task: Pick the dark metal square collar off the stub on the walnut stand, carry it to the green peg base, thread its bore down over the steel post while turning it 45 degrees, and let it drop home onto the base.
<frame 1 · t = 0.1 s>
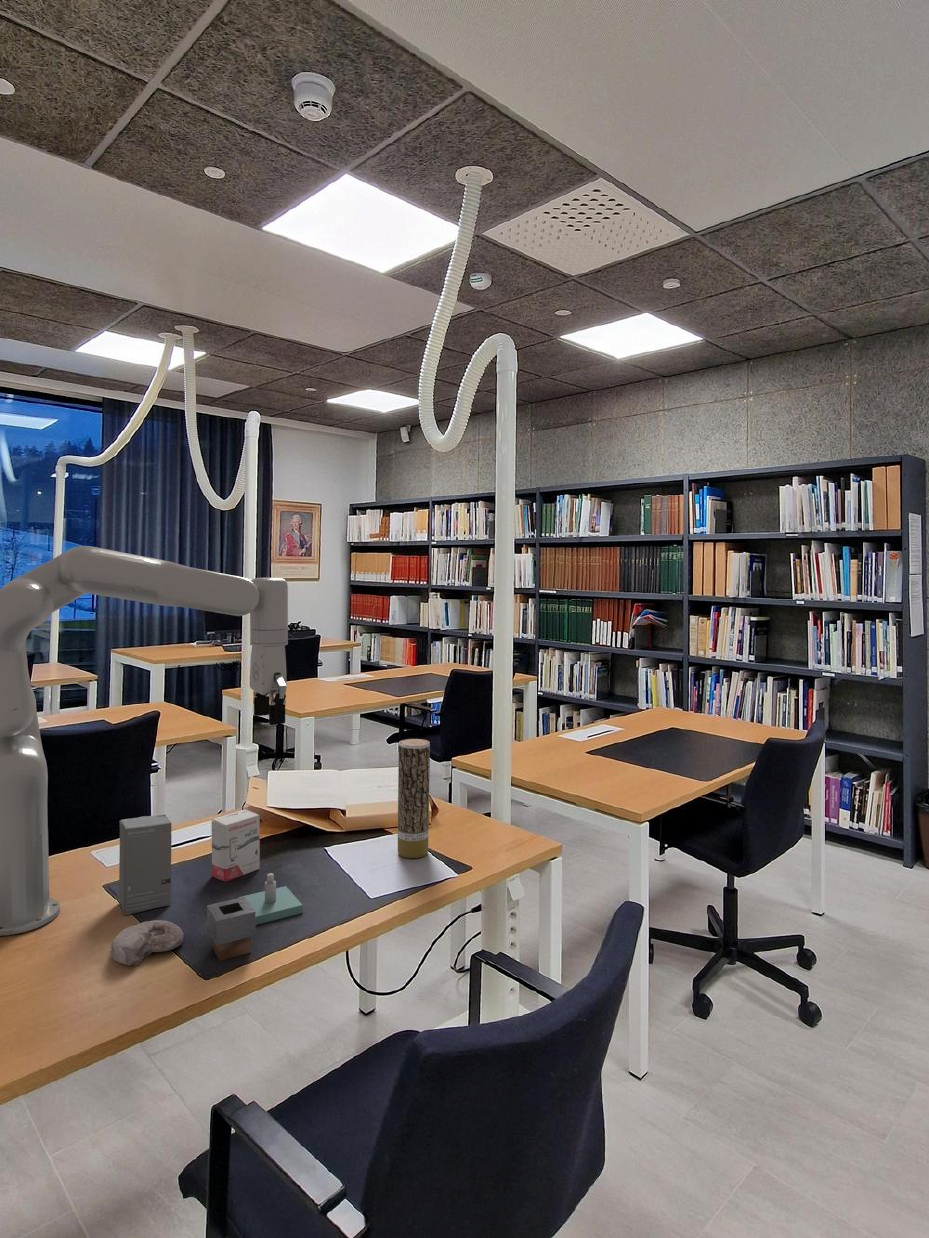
hand: (269, 719, 150), 31 cm above the table, tool pointing down, fingers open, 9 cm apart
green peg base: (270, 908, 133), on the table
fossil: (144, 952, 118), on the table
stand: (231, 949, 119), on the table
ink box: (235, 873, 148), on the table
skincare box: (145, 904, 134), on the table
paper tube: (412, 854, 159), on the table
collar: (231, 931, 118), point 3 cm above the table, touching stand
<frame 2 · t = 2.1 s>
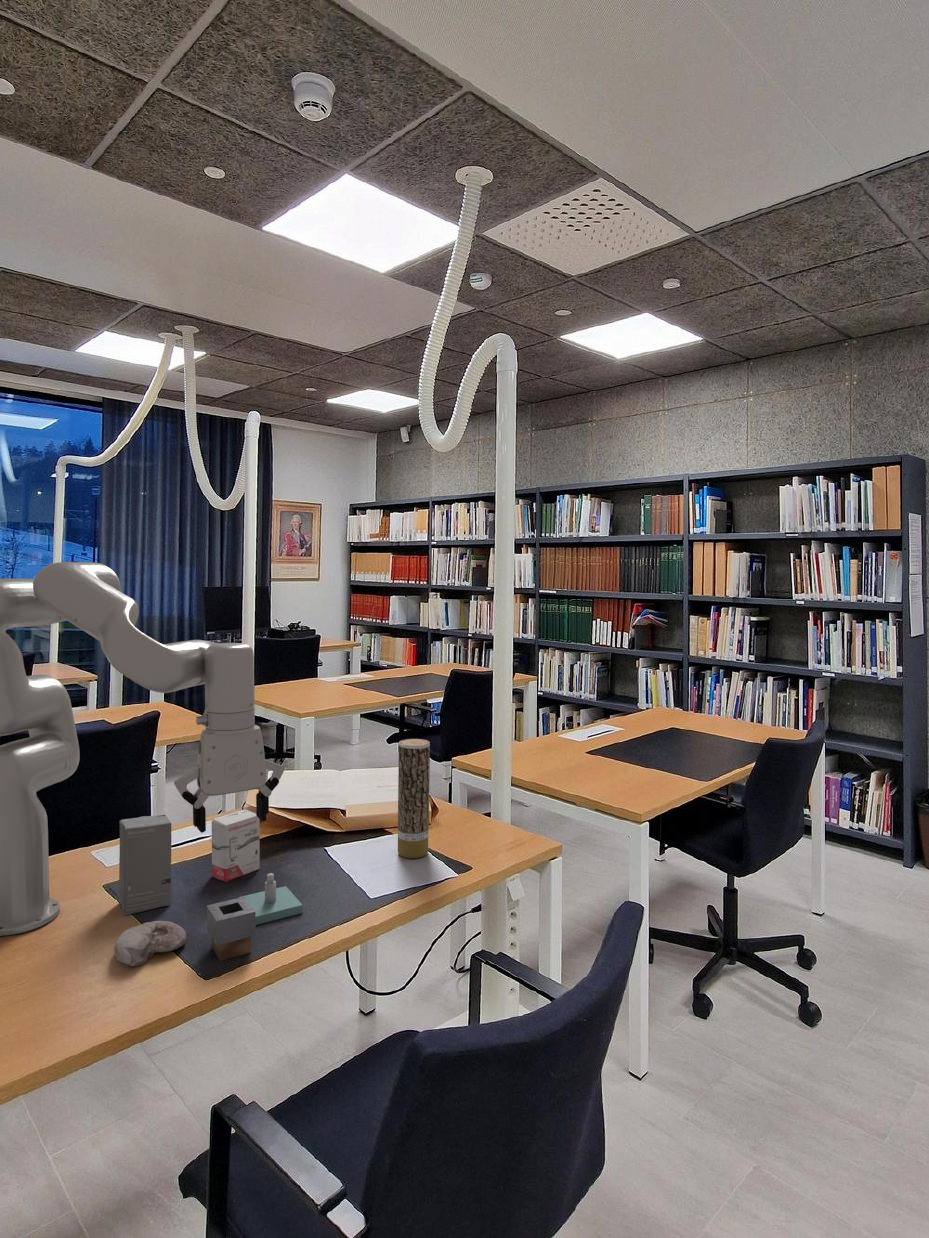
hand: (231, 824, 117), 21 cm above the table, tool pointing down, fingers open, 9 cm apart
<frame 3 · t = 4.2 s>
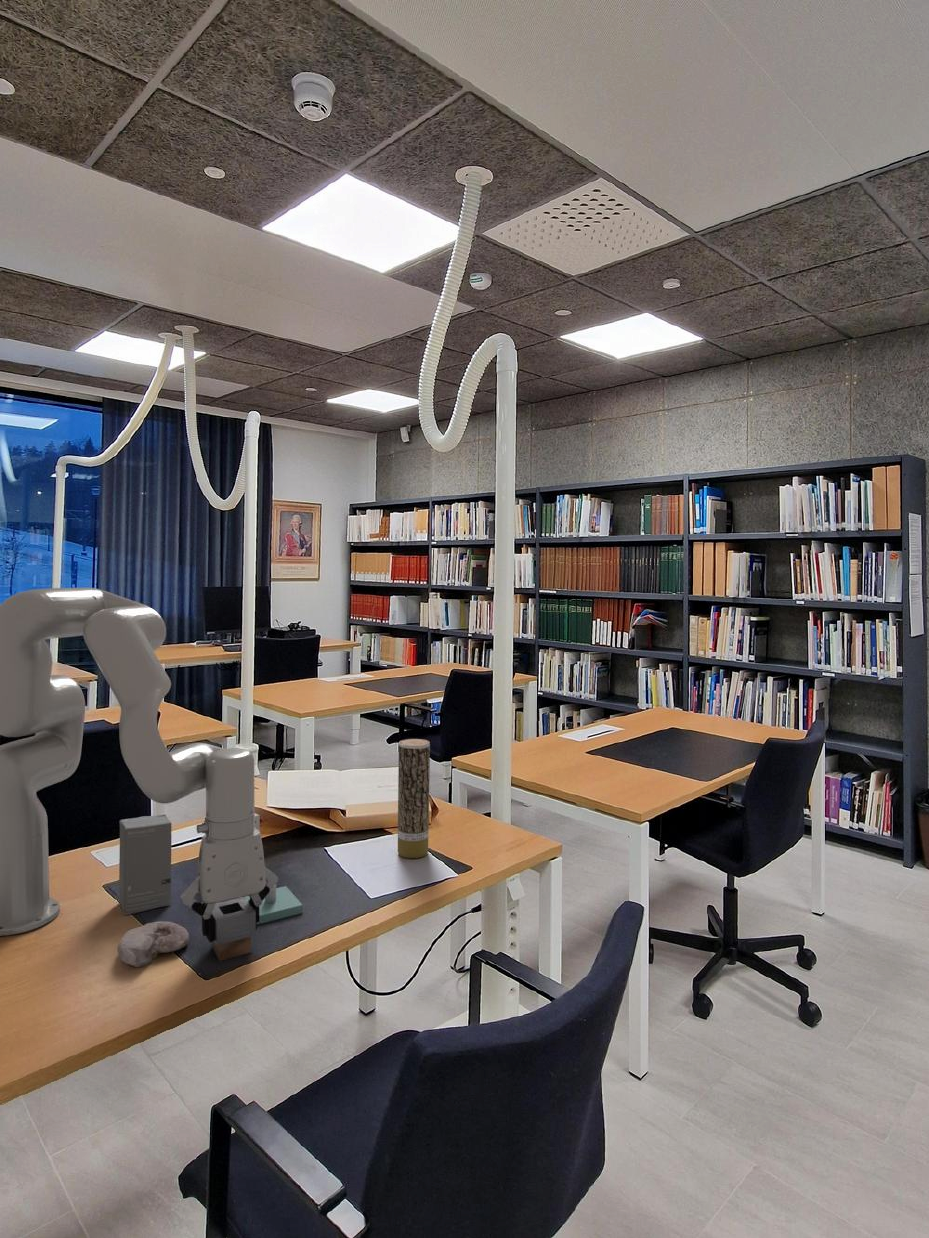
hand: (231, 931, 118), 3 cm above the table, tool pointing down, fingers closed on collar, 6 cm apart
collar: (231, 931, 118), point 3 cm above the table, touching gripper, stand
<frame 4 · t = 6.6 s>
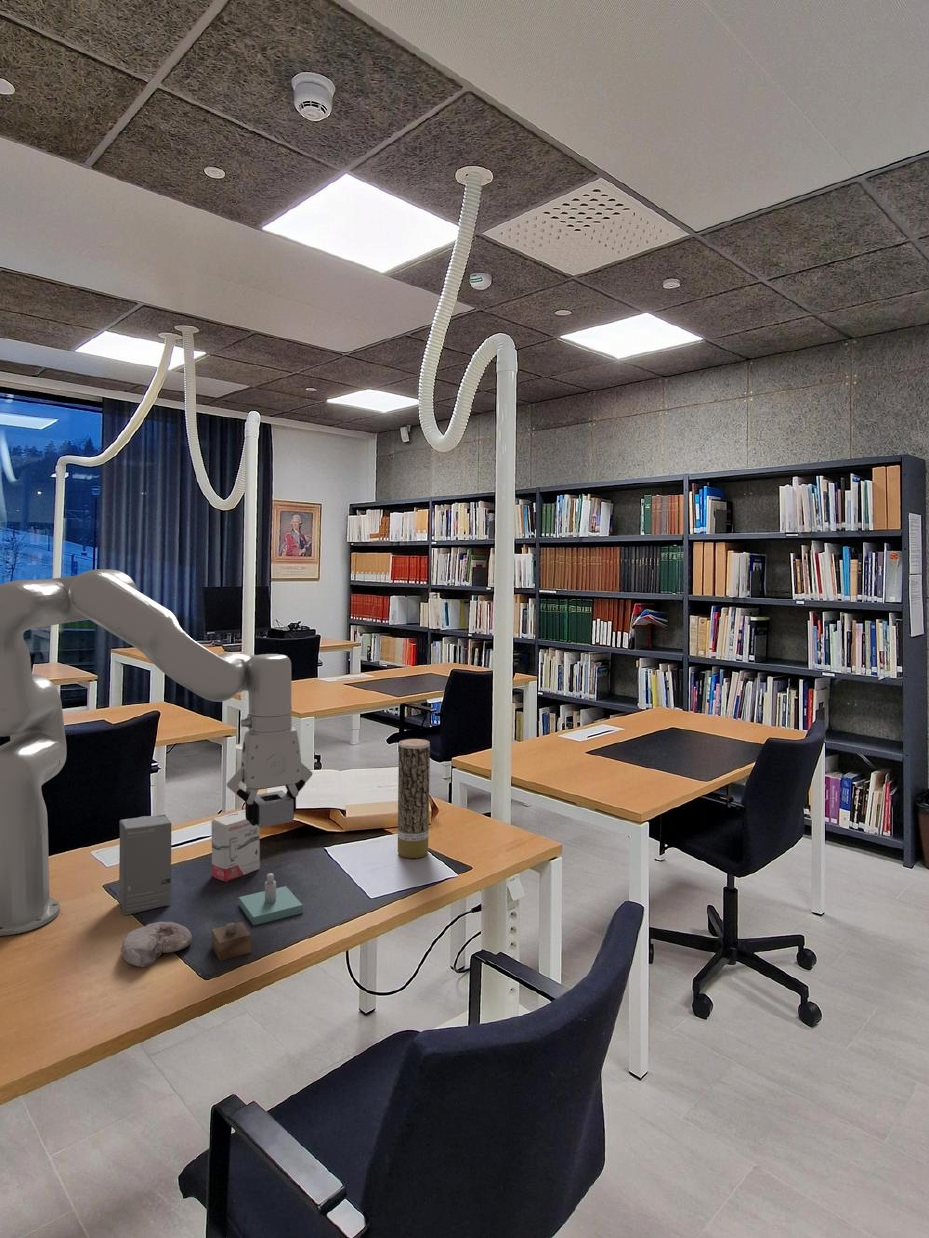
hand: (271, 818, 132), 17 cm above the table, tool pointing down, fingers closed on collar, 6 cm apart
collar: (271, 819, 132), point 17 cm above the table, touching gripper
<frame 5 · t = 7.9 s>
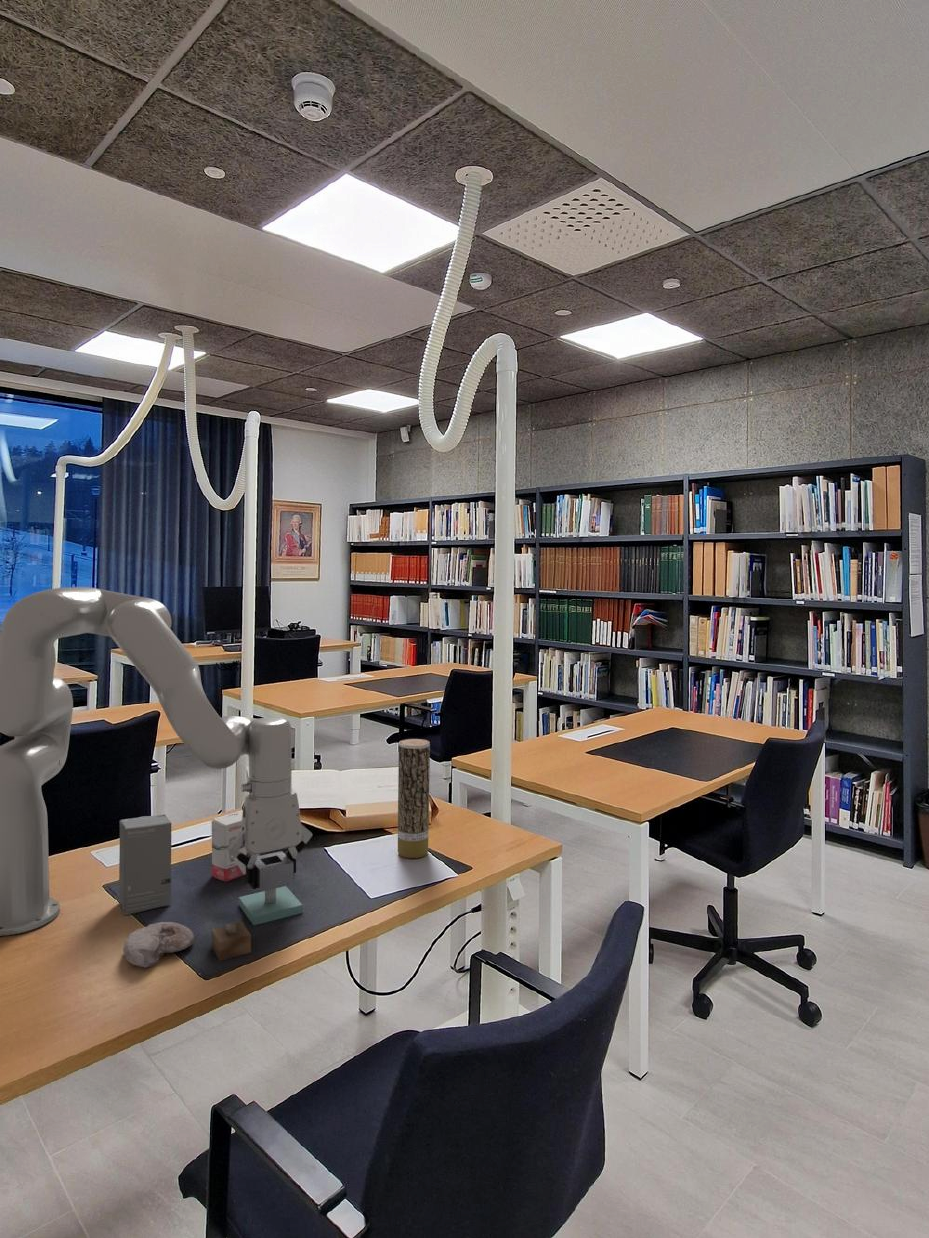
hand: (271, 881, 132), 5 cm above the table, tool pointing down, fingers closed on collar, 6 cm apart
collar: (271, 881, 132), point 5 cm above the table, touching gripper
when the fingers open (3 cm above the table, at t = 8.9 s): collar drops 1 cm, resting on green peg base.
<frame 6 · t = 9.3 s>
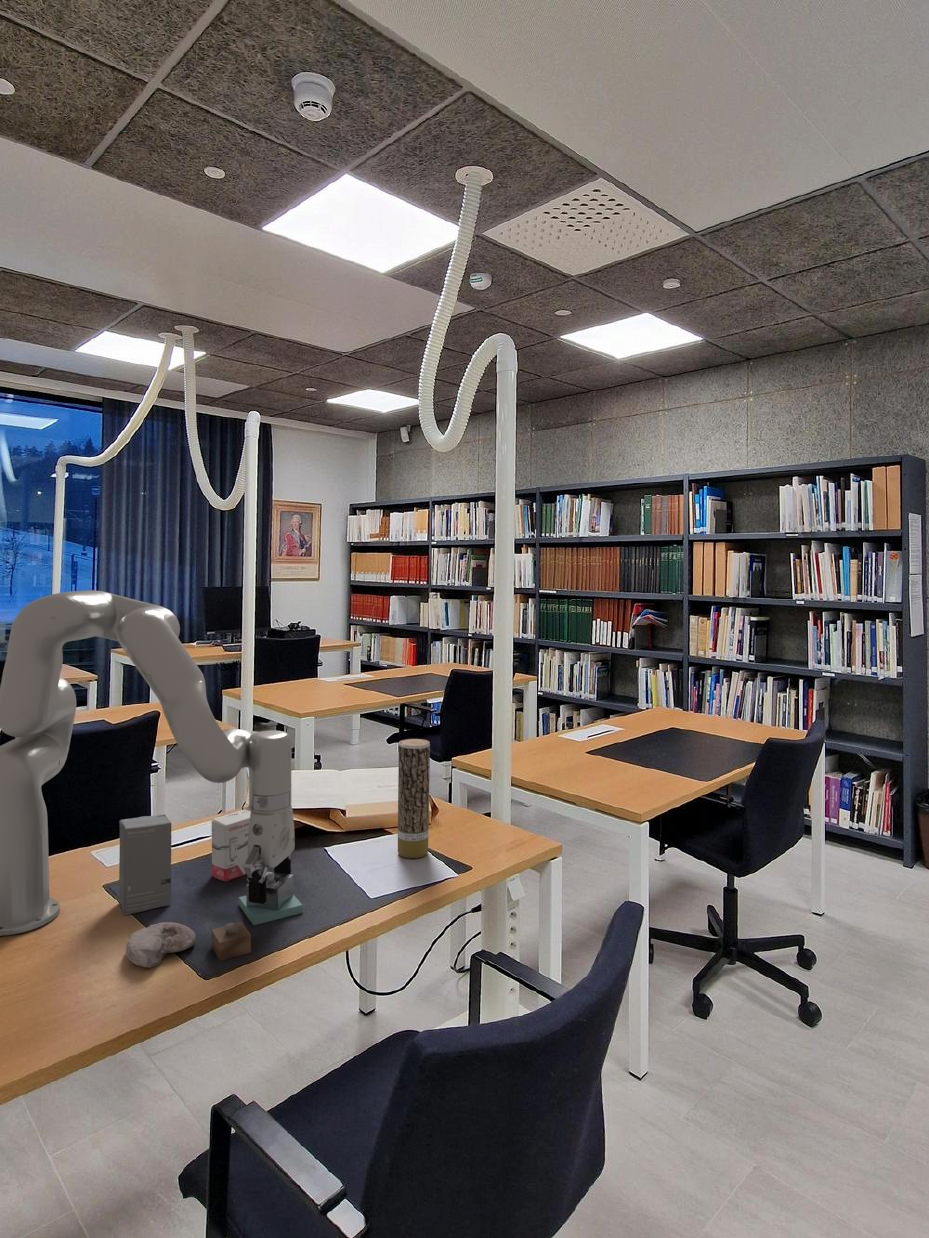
hand: (270, 890, 133), 3 cm above the table, tool pointing down, fingers open, 9 cm apart
collar: (270, 900, 133), point 1 cm above the table, touching green peg base
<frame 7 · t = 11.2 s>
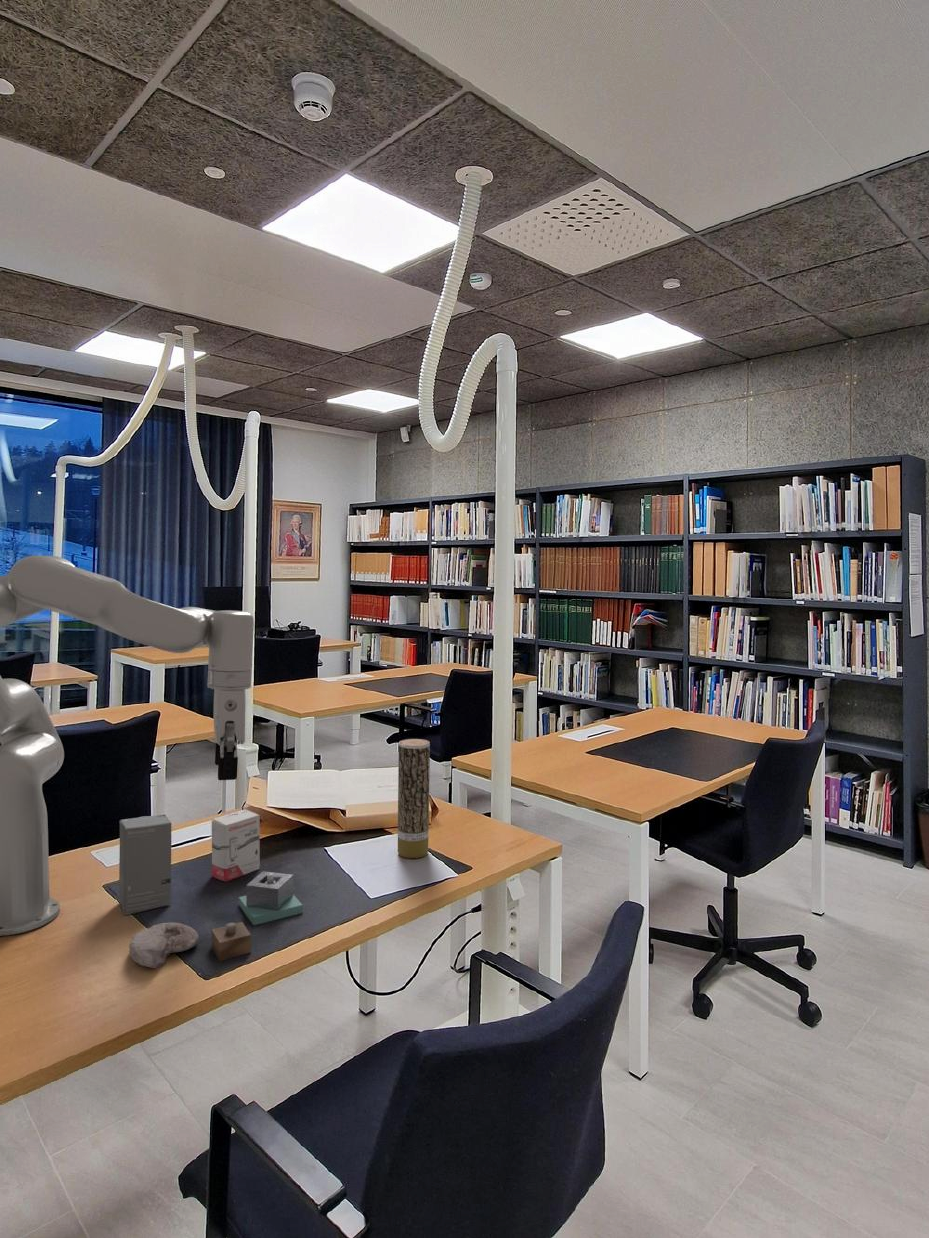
hand: (225, 771, 131), 25 cm above the table, tool pointing down, fingers open, 9 cm apart
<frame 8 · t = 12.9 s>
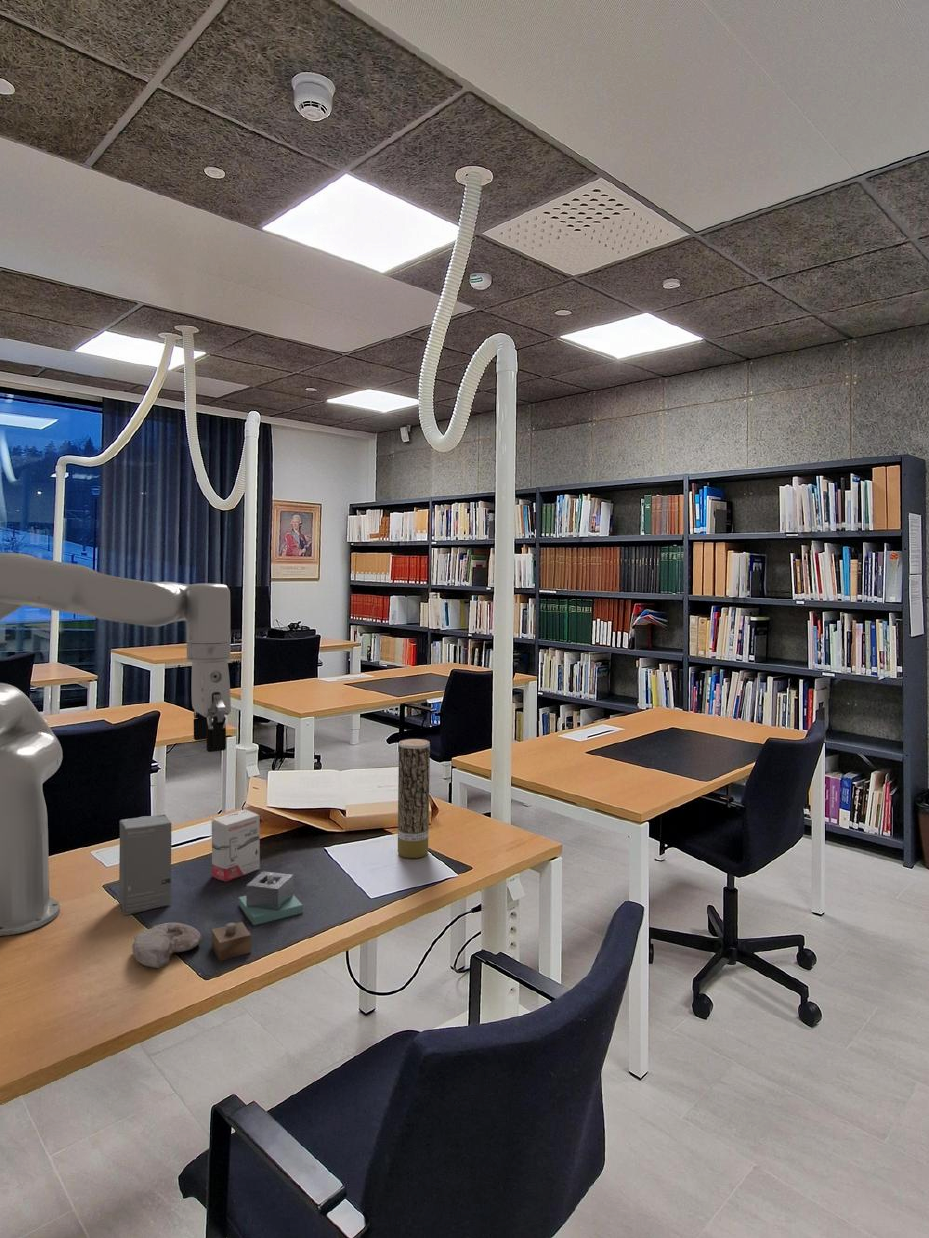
hand: (209, 744, 132), 30 cm above the table, tool pointing down, fingers open, 9 cm apart
at the end: collar 0.0 cm off-centre on the green peg base, point 1.5 cm above the green peg base's base; collar tilted 0°; the gripper is holding nothing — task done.
